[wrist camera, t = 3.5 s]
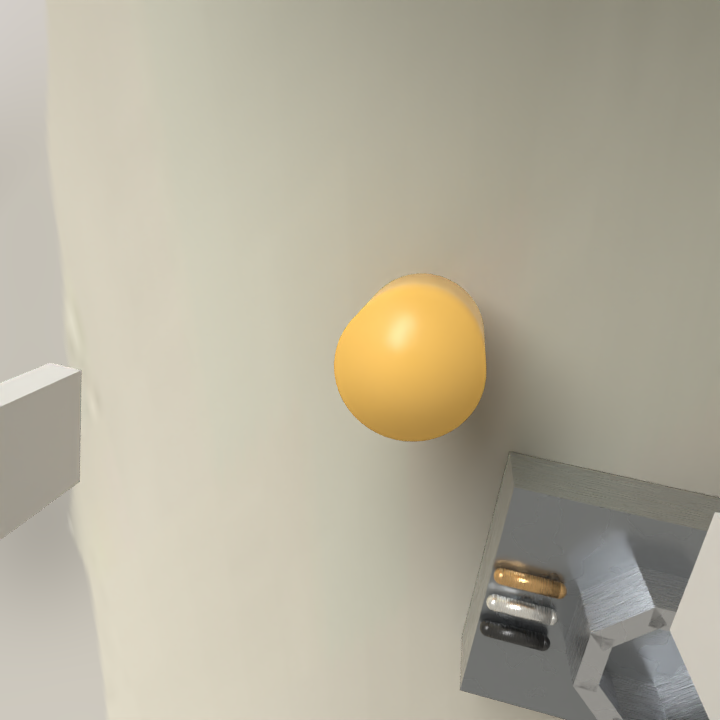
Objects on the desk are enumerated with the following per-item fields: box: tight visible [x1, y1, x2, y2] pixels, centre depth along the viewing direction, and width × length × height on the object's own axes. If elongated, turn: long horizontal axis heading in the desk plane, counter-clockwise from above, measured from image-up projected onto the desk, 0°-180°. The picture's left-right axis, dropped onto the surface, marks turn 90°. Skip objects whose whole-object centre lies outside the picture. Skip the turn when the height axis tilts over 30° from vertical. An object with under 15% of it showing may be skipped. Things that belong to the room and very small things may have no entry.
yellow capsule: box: [334, 274, 486, 441], centre depth 23 cm, size 5×5×8 cm
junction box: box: [460, 452, 720, 720], centre depth 26 cm, size 12×11×6 cm
